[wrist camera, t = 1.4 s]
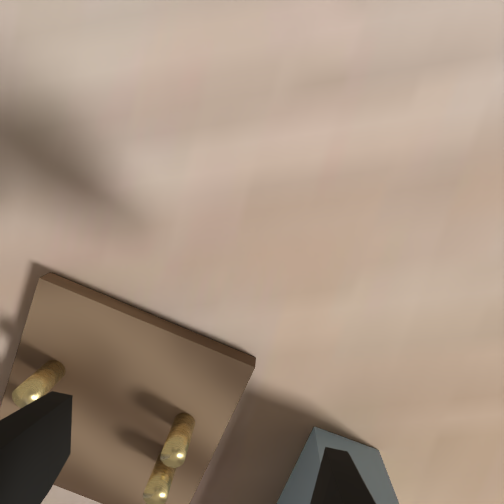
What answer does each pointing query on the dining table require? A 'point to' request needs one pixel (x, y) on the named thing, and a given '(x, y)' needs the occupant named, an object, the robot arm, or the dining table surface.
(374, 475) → the light blue rectangular block
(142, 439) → the peg stand
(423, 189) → the dining table surface
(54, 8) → the dining table surface
